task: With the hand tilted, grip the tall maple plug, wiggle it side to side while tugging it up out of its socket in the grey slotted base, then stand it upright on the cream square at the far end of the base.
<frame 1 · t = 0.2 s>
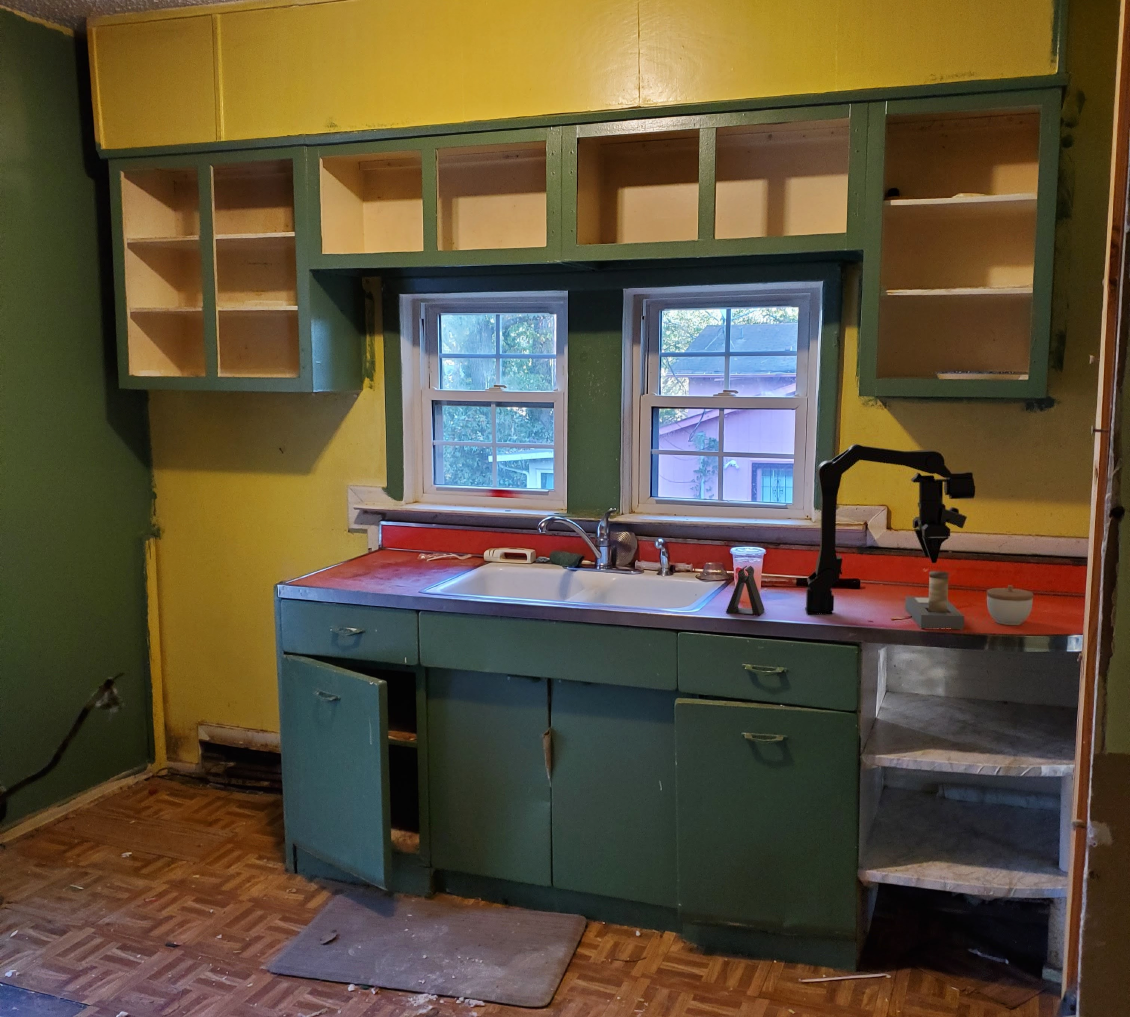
hand: (930, 559, 269), 15 cm above the countertop, tool pointing down, fingers open, 9 cm apart
dark a-frame stand: (745, 613, 276), on the countertop
grey slotted base: (933, 619, 266), on the countertop
maple plug: (937, 624, 262), resting in grey slotted base
lidded jar: (1008, 623, 263), on the countertop
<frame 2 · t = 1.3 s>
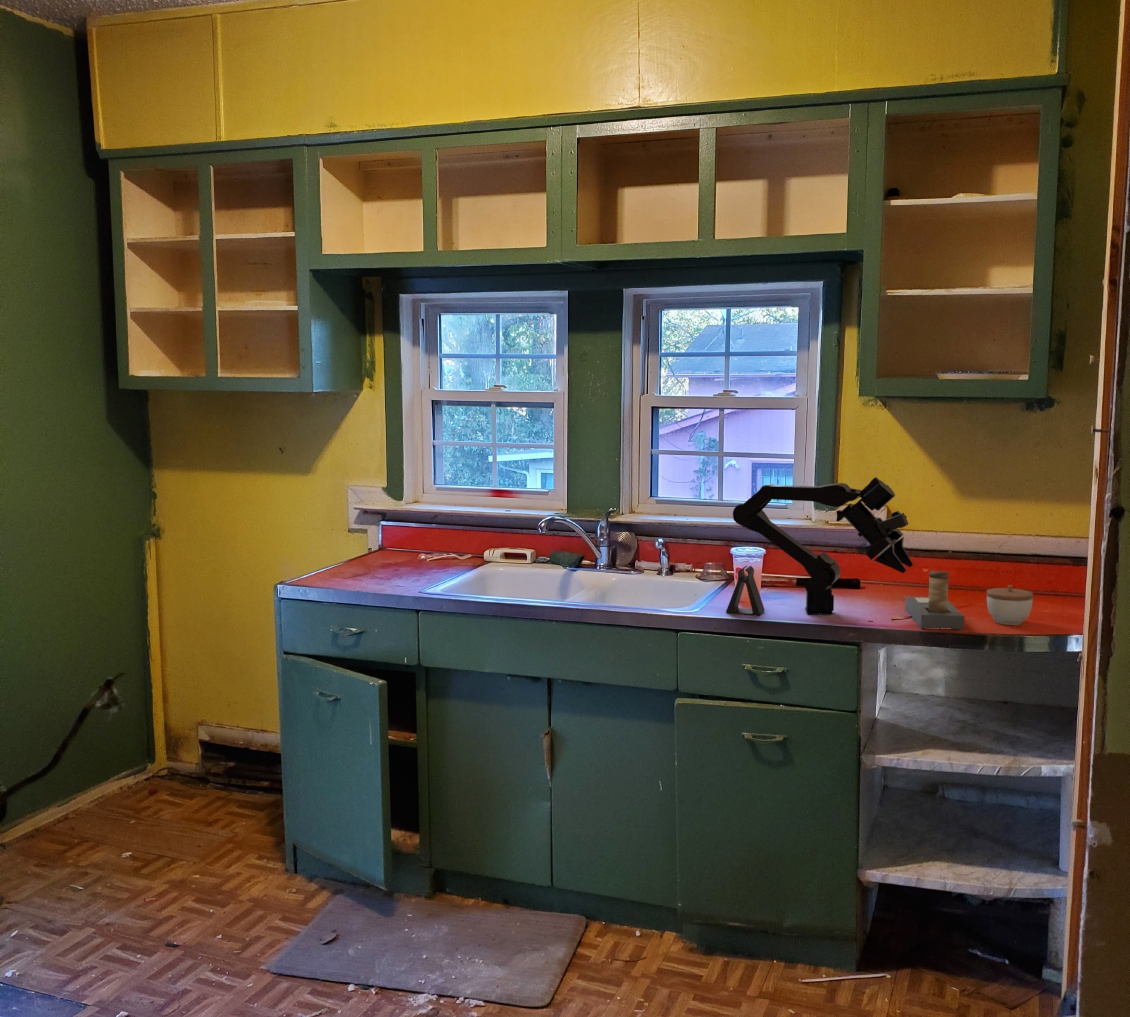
hand: (908, 568, 263), 13 cm above the countertop, tool tilted 45°, fingers open, 9 cm apart
nothing on the countertop moved.
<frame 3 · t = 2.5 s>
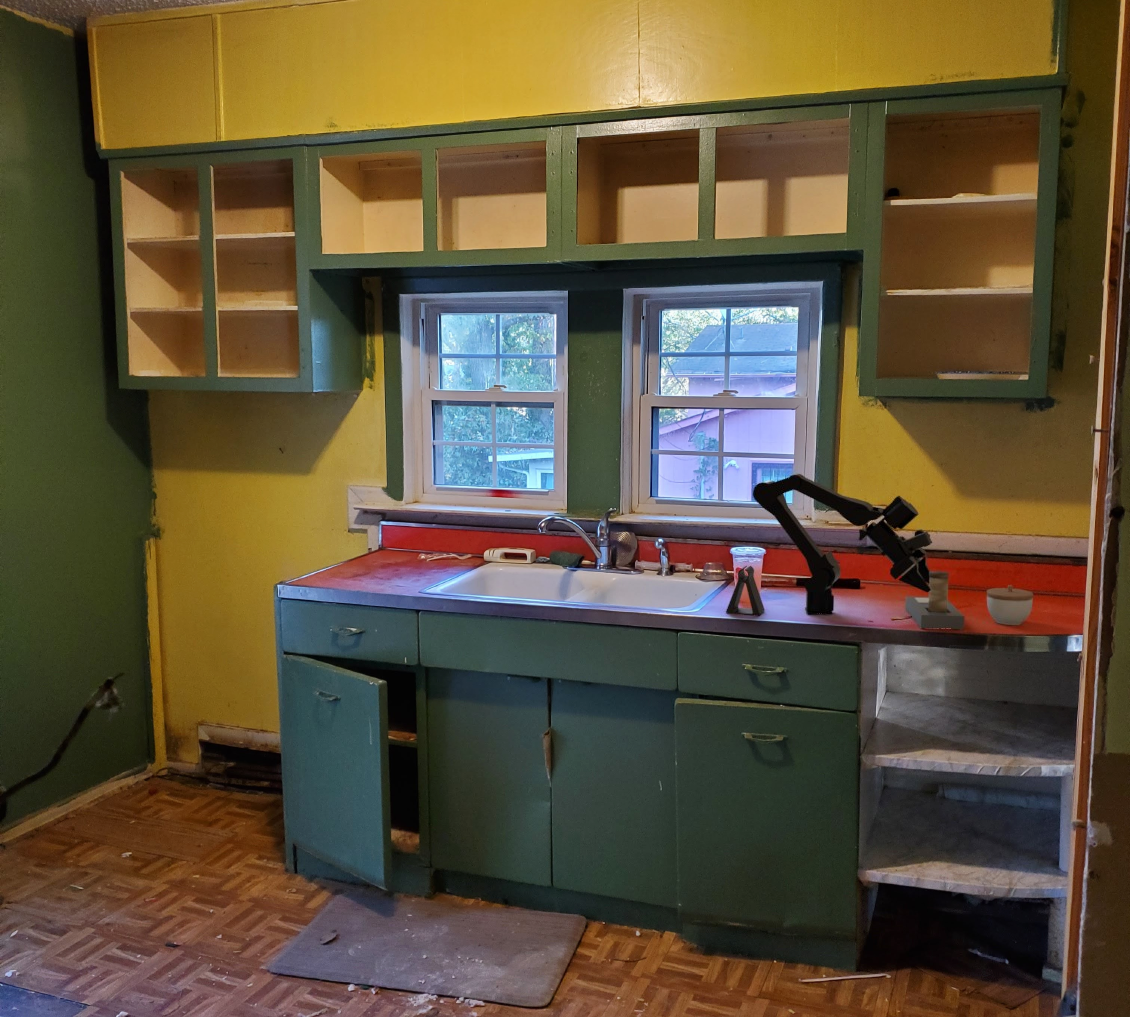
hand: (932, 588, 261), 9 cm above the countertop, tool tilted 45°, fingers open, 9 cm apart
nothing on the countertop moved.
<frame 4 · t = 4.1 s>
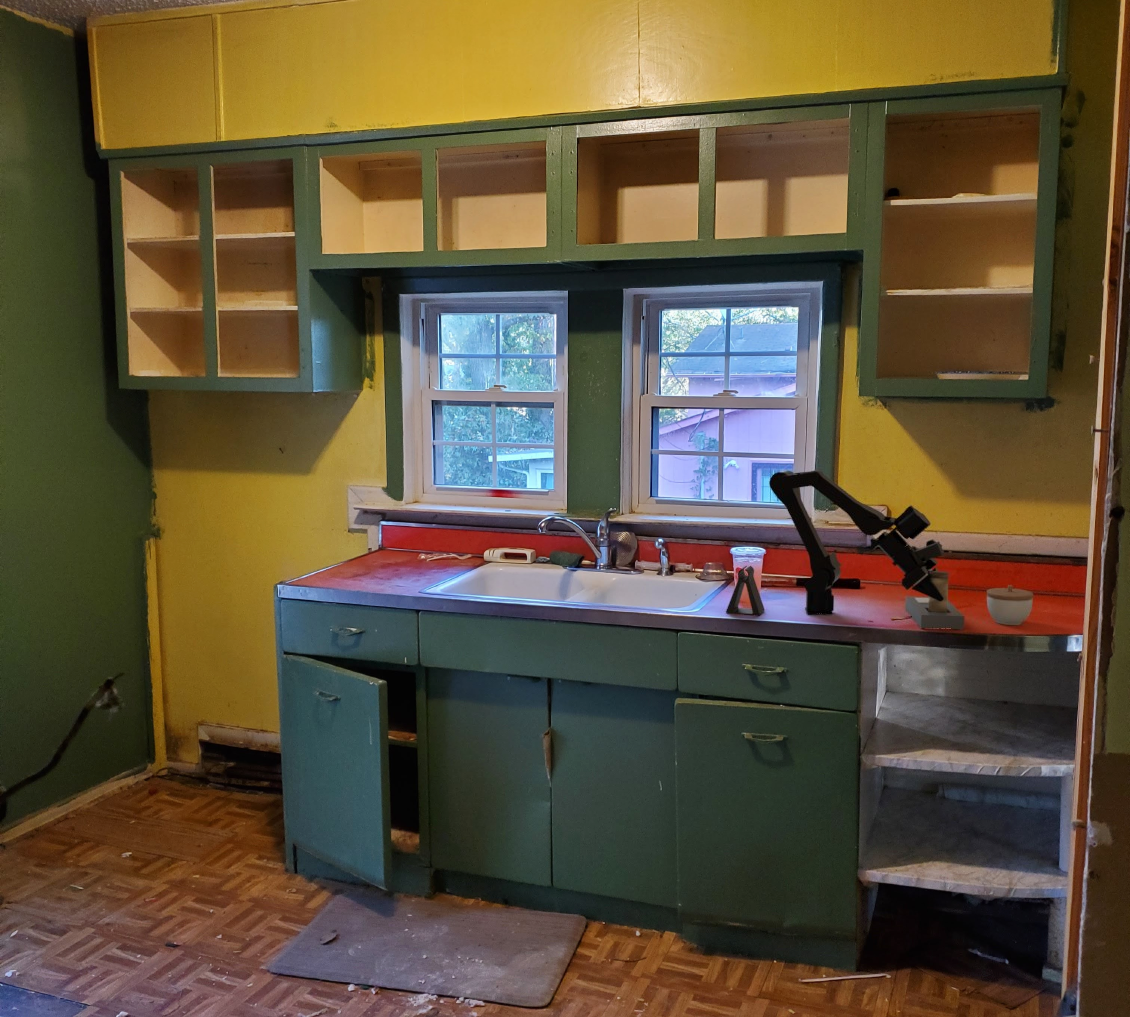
hand: (944, 598, 260), 7 cm above the countertop, tool tilted 45°, fingers closed on maple plug, 4 cm apart
maple plug: (937, 623, 262), resting in grey slotted base, touching gripper
everything else where it was.
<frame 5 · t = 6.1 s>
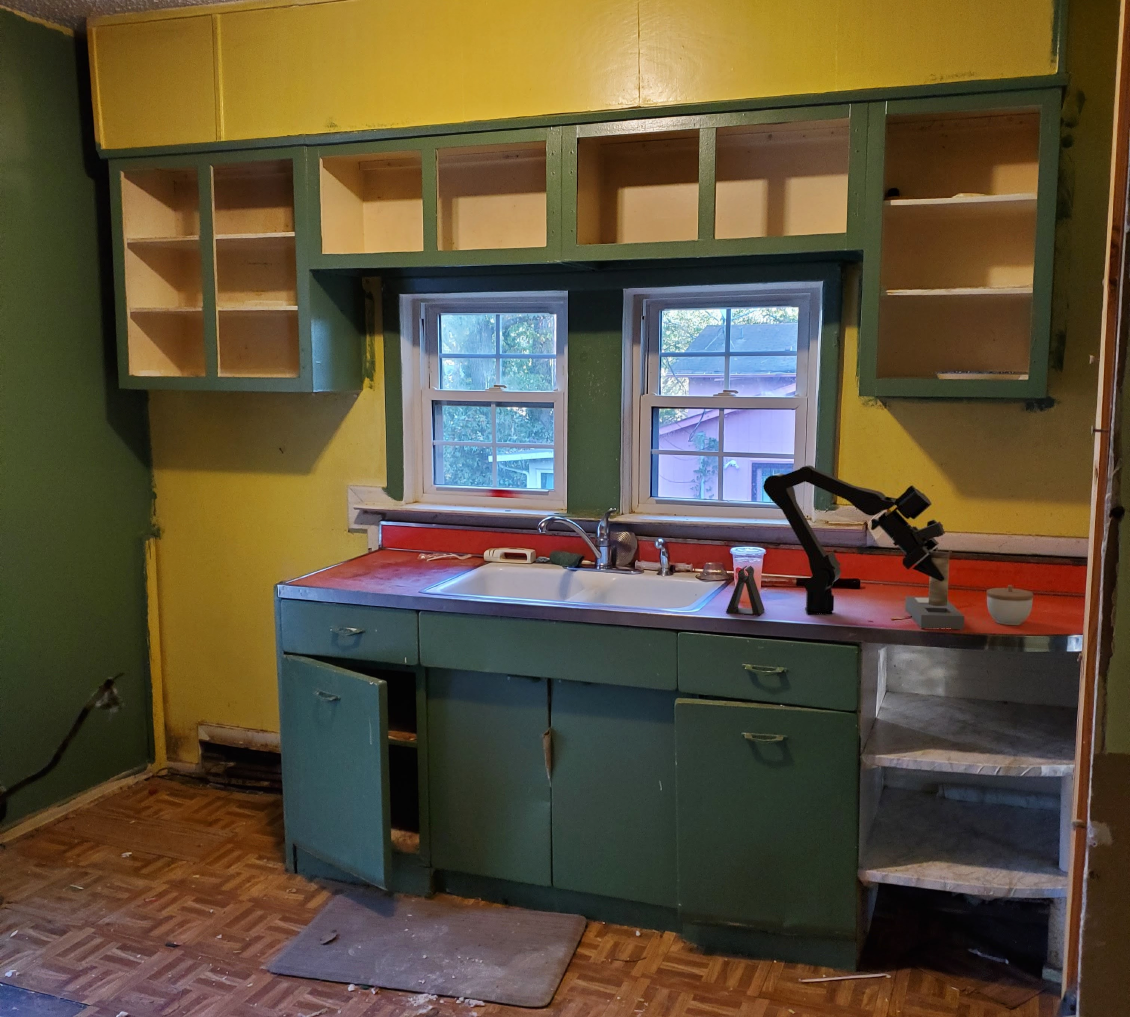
hand: (944, 578, 259), 12 cm above the countertop, tool tilted 45°, fingers closed on maple plug, 4 cm apart
maple plug: (937, 604, 261), point 5 cm above the countertop, touching gripper
everything else where it was.
when the fingers open (11 cm above the countertop, at t = 8.4 s): maple plug drops 1 cm, resting on grey slotted base.
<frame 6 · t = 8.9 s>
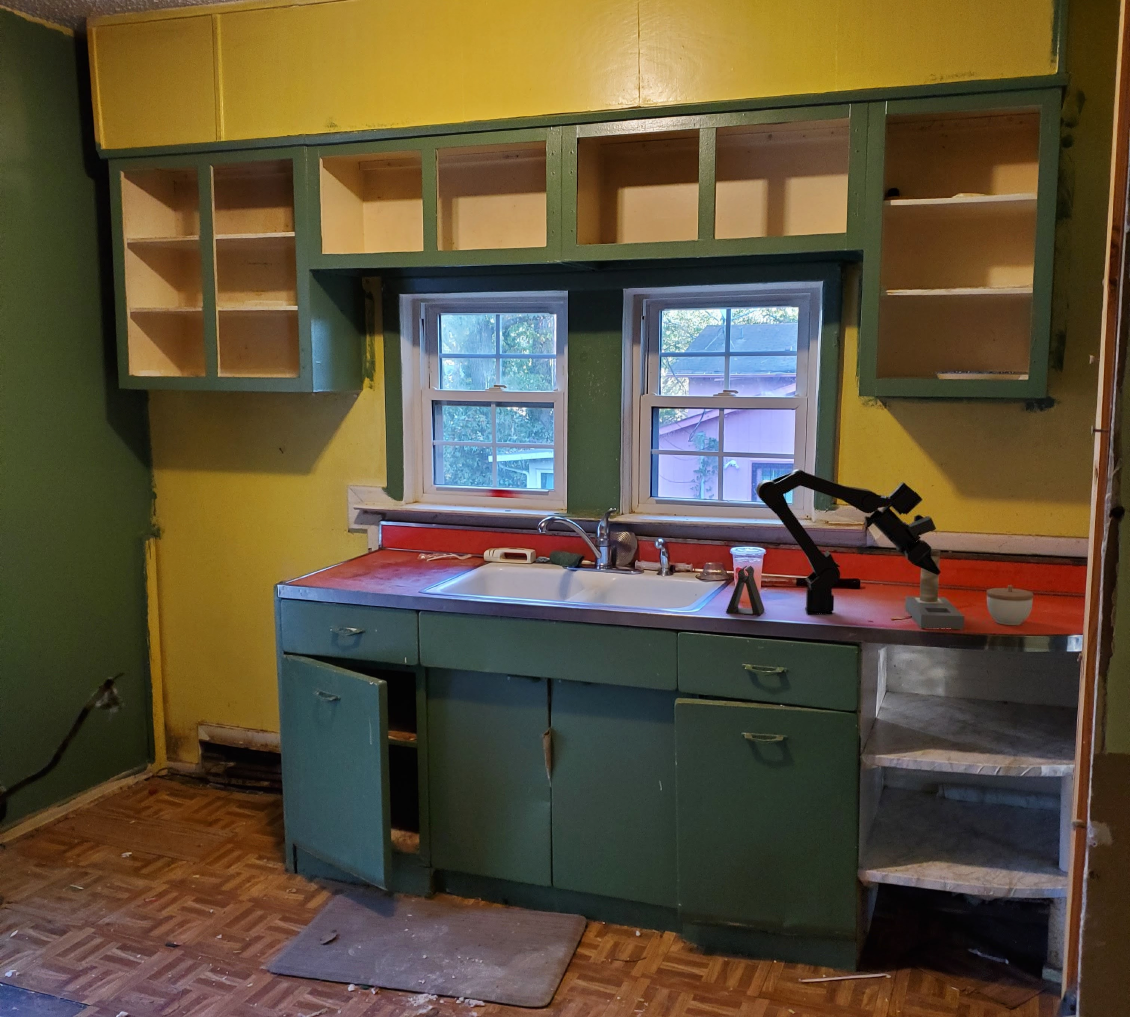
hand: (935, 570, 271), 12 cm above the countertop, tool tilted 45°, fingers open, 9 cm apart
maple plug: (928, 600, 272), point 4 cm above the countertop, touching grey slotted base
everything else where it was.
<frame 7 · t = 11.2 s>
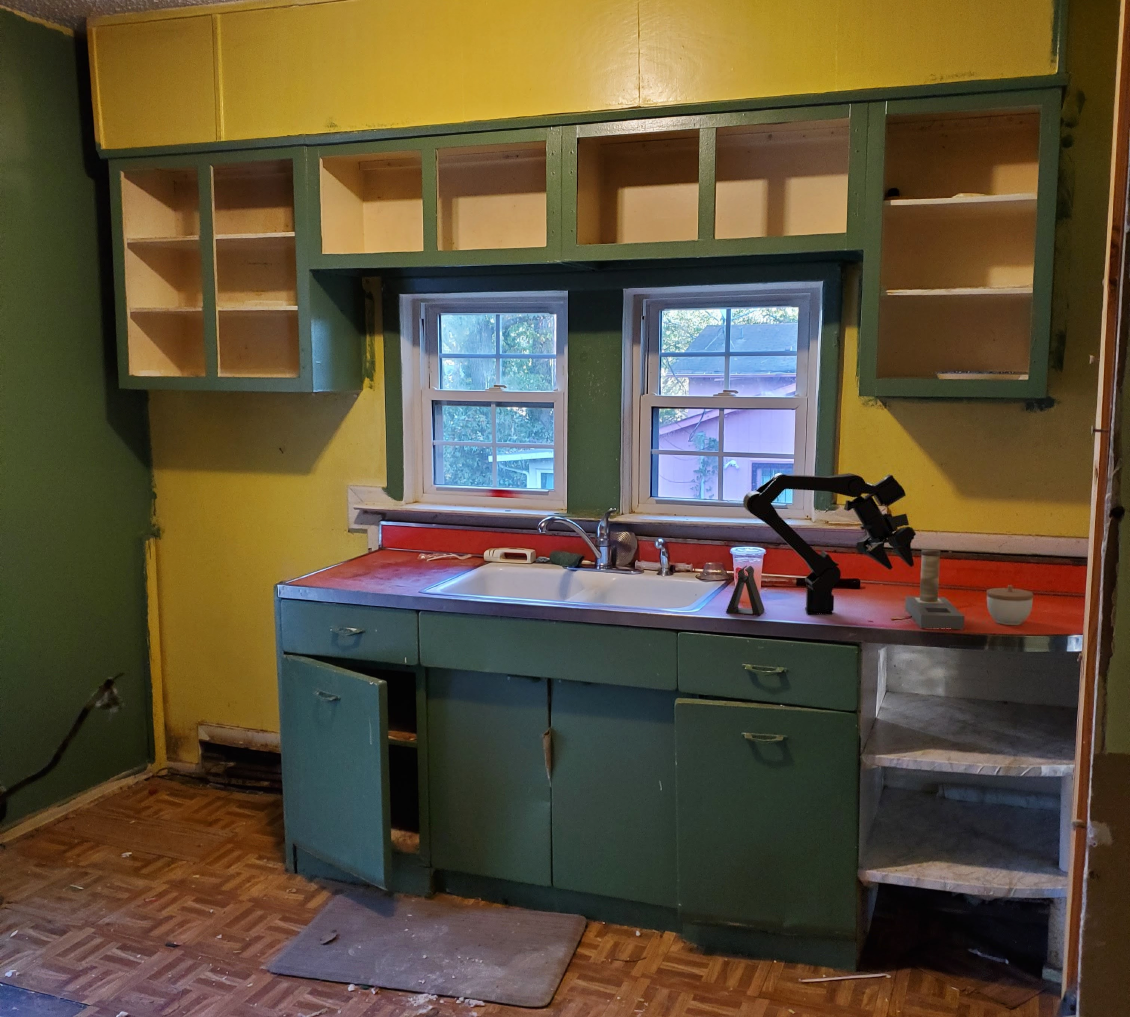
hand: (901, 567, 273), 12 cm above the countertop, tool tilted 30°, fingers open, 9 cm apart
nothing on the countertop moved.
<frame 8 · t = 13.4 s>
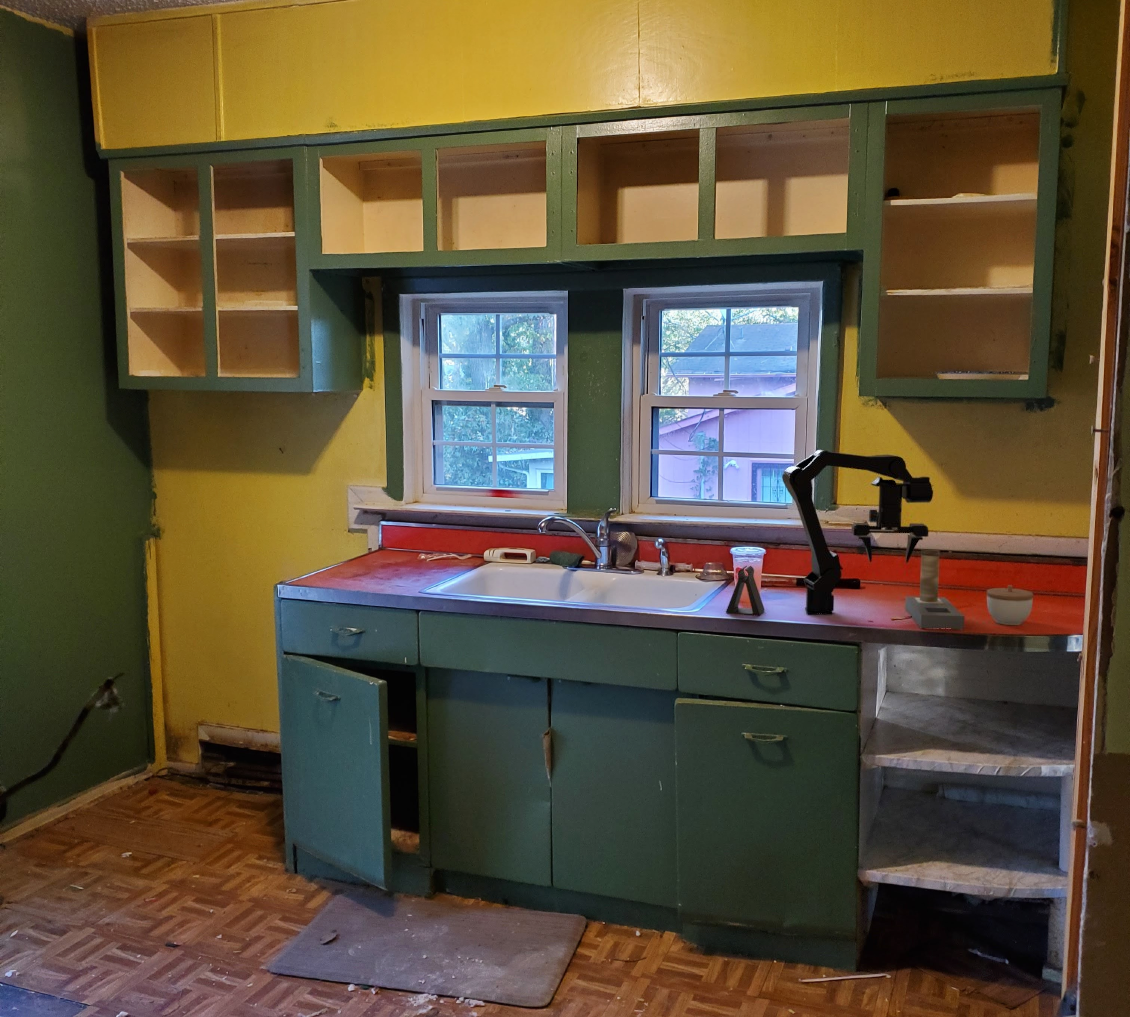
hand: (888, 562, 275), 13 cm above the countertop, tool pointing down, fingers open, 9 cm apart
nothing on the countertop moved.
at the end: maple plug 0.1 cm from the target spot on the grey slotted base, point 3.7 cm above the grey slotted base's base; maple plug tilted 1°; the gripper is holding nothing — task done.
